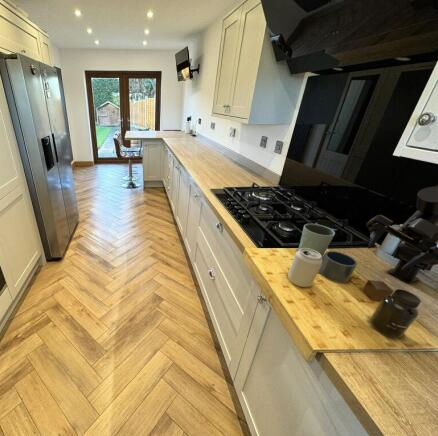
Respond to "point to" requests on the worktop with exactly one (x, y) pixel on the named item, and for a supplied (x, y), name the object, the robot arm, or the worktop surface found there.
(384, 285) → the brown cube
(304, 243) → the green tapered tumbler
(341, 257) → the cup
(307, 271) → the can
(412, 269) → the robot arm
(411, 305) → the supplement bottle
